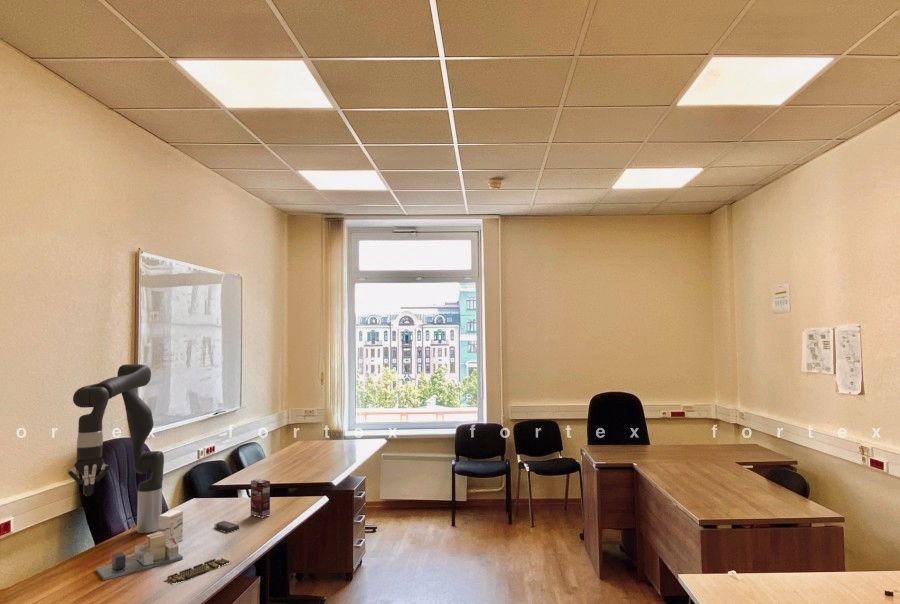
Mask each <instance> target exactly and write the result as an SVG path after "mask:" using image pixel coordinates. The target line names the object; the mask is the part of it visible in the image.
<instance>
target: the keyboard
mask: <svg viewBox="0 0 900 604" xmlns="http://www.w3.org/2000/svg"><path fill="white" fill-rule="evenodd" d="M229 562H230V560H229V559H226V558H223V557H221V558H220V559H216V558H212V559H210V560H207V561H204V563H199V564H197V565H194V566H193V567H189V568H186V569H182V570H180V571H179V572H176V573H172V574H170V575H167V579H164V580H163V582H164V583H166V582H168V583H167V584H169V583H176V582H177V583H178V582H181V581H184V582H186V581H189V580H191V578H192V579H194V578H196V577H199V576H201V575H204V574H207V573H209V572H212V571H215V570H217V569H219V568H218V567H219V565H220V566H222V565H224V564H226V563H229ZM222 567H223V566H222ZM188 579H189V580H188ZM181 583H182V582H181Z"/></svg>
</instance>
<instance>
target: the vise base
mask: <svg viewBox="0 0 900 604" xmlns="http://www.w3.org/2000/svg"><path fill="white" fill-rule="evenodd" d="M183 558H184V557H183V555H181V554H180V553H179V545H177V543H173V542H172V541H170V540H169V539H166V548H165V558H162V559H158V560H154V561H153V564H149V565H145V566H144V565H143V564H142V563H140V562H139V561H138V560H133V561H130V562H126V563H125V568H121V569H117V570H115V569H114V568H113V567H112V563H109V564H105V565H101V566H98V567H95V572H96V573H97V574H98V576H100V578H101V580H103V581H107V580H110V579H114V578H115V579H116V578H118V577H122V576H126V575H129V574H128V573H130V574H132V572H133V573H136V572H135V571H137V572H140V571H139V570H141V571H144V570H143V569H145V570H147V569H146V568H148V569H151V568H150V567H152V568H155V567H154V566H156V567H160V566H163V565H167V564H170V563H174V562H179V561H181V560H183ZM159 565H160V566H159ZM125 574H126V575H125Z"/></svg>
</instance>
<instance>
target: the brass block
mask: <svg viewBox="0 0 900 604" xmlns="http://www.w3.org/2000/svg"><path fill="white" fill-rule="evenodd" d="M146 546H147V547H148V548H149V549H150V550H151V551H153V552H154V560H158V559H162V558H165V548H166V535H165V534H164V533H162V532H160V533H159V532H155V533H150V534H148V535H147V534H146ZM154 560H153V561H154Z"/></svg>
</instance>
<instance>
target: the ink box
mask: <svg viewBox="0 0 900 604" xmlns="http://www.w3.org/2000/svg"><path fill="white" fill-rule="evenodd" d="M183 524H184V510H176V509H171V510H169V511H168V512H165V513H162V515H160V516H159V530H158V533H160V532H162V533H164V534H165V535H166V539H169V540H170V541H172V542H173V543H175V544H177V543H180V542H181V541H183V539H184V538H183V537H184V536H183V531H184V529H183V527H184V525H183Z"/></svg>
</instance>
